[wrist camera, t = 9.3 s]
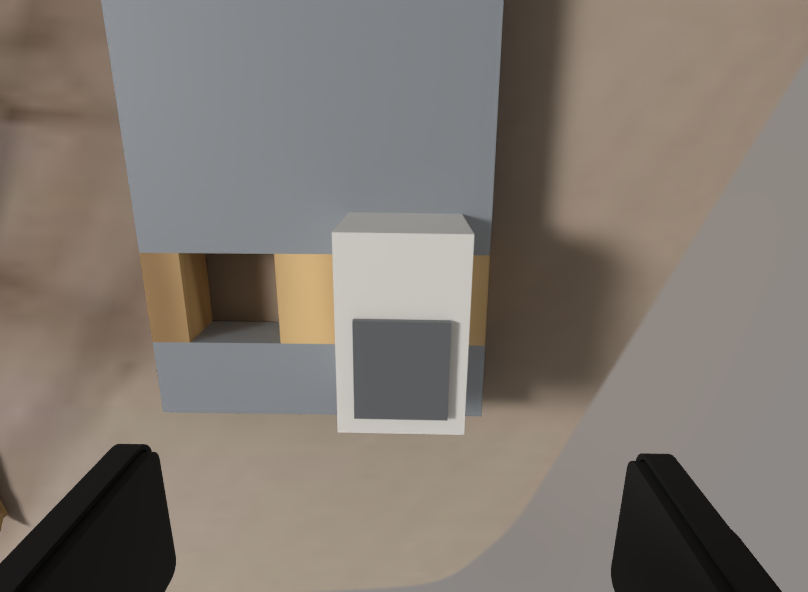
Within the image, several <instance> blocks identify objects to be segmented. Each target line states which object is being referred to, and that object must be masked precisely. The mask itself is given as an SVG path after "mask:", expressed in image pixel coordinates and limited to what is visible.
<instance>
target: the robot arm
mask: <svg viewBox="0 0 808 592" xmlns="http://www.w3.org/2000/svg"><path fill="white" fill-rule="evenodd" d="M175 566H176V555H175V549H174V543H173V537H172V531H171V525H170V519H169V513H168V507H167V501H166V495H165V489H164V483H163V477H162V471H161V465H160V459H159V455H158V454H157V453H156V452H152V451H151V449H150V447H149V446H148V445H146V444H117V445H115V446H113V447H112V448H111V449H110V450H109V451H108V452H107V453H106V454H105V455H104V456H103V457H102V458H101V459H100V460H99V462H98V463H97V464H96V465H95V466H94V467H93V468H92V469H91V470H90V471H89V472H88V473H87V474H86V475H85V476H84V477H83V478H82V479H81V480H80V481H79V482H78V483H77V484H76V485H75V486H74V487H73V489H72V490H71V491H70V492H69V493H68V494H67V495H66V496H65V497H64V498H63V499H62V500H61V501H60V502H59V503H58V504H57V505H56V506H55V507H54V508H53V509H52V510H51V511H50V512H49V513H48V514H47V515H46V517H45V518H44V519H43V520H42V521H41V522H40V523H39V524H38V525H37V526H36V527H35V528H34V529H33V530H32V531H31V532H30V533H29V534H28V535H27V536H26V537H25V538H24V539H23V540H22V541H21V542H20V543H19V545H18V546H17V547H16V548H15V549H14V550H13V551H12V552H11V553H10V554H9V555H8V556H7V557H6V558H5V559H4V560H3V561H2V562H1V563H0V592H165V590H166V588H167V587H168V585H169V583H170V581H171V579H172V577H173V574H174V571H175ZM611 578H612V584H613V587H614V590H615V592H782V591H781V590H780V589H779V587H778V586H777V585H776V584H775V582H774V581H773V580H772V579H771V577H770V576H769V575H768V573H767V572H766V571H765V570H764V568H763V567H762V566H761V565H760V563H759V562H758V561H757V559H756V558H755V557H754V556H753V554H752V553H751V552H750V551H749V549H748V548H747V547H746V546H745V545H744V543H743V542H742V541H741V539H740V538H739V537H738V536H737V535H736V534H735V533H734V532H733V531H732V530H731V529H730V528H729V526H728V525H727V524H726V523H725V521H724V520H723V519H722V517H721V516H720V515H719V514H718V512H717V511H716V510H715V508H714V507H713V506H712V504H711V503H710V502H709V501H708V499H707V498H706V497H705V496H704V494H703V493H702V492H701V490H700V489H699V488H698V487H697V485H696V484H695V483H694V481H693V480H692V479H691V478H690V476H689V475H688V474H687V473H686V471H685V470H684V469H683V467H682V466H681V465H680V464H679V462H678V461H677V460H676V458H675V457H674V456H673V455H670V454H639V455H638V457H637V459H636V461H630V462H629V463H628V466H627V472H626V477H625V485H624V490H623V496H622V503H621V509H620V515H619V522H618V528H617V534H616V540H615V547H614V553H613V560H612V566H611Z"/></svg>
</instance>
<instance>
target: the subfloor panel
mask: <svg viewBox="0 0 808 592" xmlns="http://www.w3.org/2000/svg"><path fill="white" fill-rule="evenodd" d="M101 2H102V9H103V16H104V22H105V29H106V36H107V42H108V49H109V55H110V62H111V69H112V75H113V82H114V89H115V95H116V102H117V109H118V115H119V122H120V128H121V135H122V142H123V148H124V155H125V162H126V168H127V175H128V181H129V188H130V195H131V201H132V208H133V215H134V221H135V228H136V234H137V241H138V248H139V254H140V261H141V268H142V274H143V281H144V287H145V294H146V301H147V307H148V314H149V321H150V327H151V334H152V340H153V347H154V354H155V360H156V367H157V374H158V380H159V387H160V394H161V400H162V407H163V412H189V413H266V414H337V390H336V358H335V325H334V292H333V259H332V231H333V230H334V229H335V228H336V227H337V226H338V224H339V223H340V222H341V221H342V220H343V219H344V217H345V216H346V215H347V214H348V213H349V212H369V213H441V214H462V215H463V216H464V218H465V220H466V221H467V223H468V225H469V226H470V228H471V230H472V231H473V233H474V251H473V271H472V290H471V309H470V329H469V348H468V367H467V387H466V406H465V416H481V414H482V395H483V377H484V358H485V339H486V321H487V302H488V283H489V265H490V246H491V227H492V209H493V190H494V171H495V152H496V134H497V115H498V96H499V78H500V59H501V40H502V22H503V3H504V0H101ZM205 253H232V254H274V258H275V272H276V286H277V300H278V314H279V322H237V321H213V317H212V309H211V300H210V291H209V282H208V273H207V264H206V255H205Z"/></svg>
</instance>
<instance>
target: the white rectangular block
mask: <svg viewBox="0 0 808 592" xmlns="http://www.w3.org/2000/svg"><path fill="white" fill-rule="evenodd" d="M473 251H474V233H473V231H472V230H471V228H470V226H469V225H468V223H467V221H466V220H465V218H464V216H463V215H462V214H441V213H369V212H349V213H348V214H347V215H346V216H345V217H344V219H343V220H342V221H341V222H340V223H339V224H338V226H337V227H336V228H335V229H334V230H333V231H332V259H333V292H334V325H335V358H336V390H337V423H338V432H349V433H398V434H447V435H464V425H465V406H466V387H467V367H468V348H469V329H470V309H471V290H472V271H473Z"/></svg>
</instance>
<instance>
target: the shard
mask: <svg viewBox="0 0 808 592" xmlns="http://www.w3.org/2000/svg"><path fill="white" fill-rule="evenodd" d="M7 515H8V513H7V510H6V509H5V507H4V505H3V503H2V501H1V499H0V531H1V525H2V522H3V518H4V517H5V516H7Z"/></svg>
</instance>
